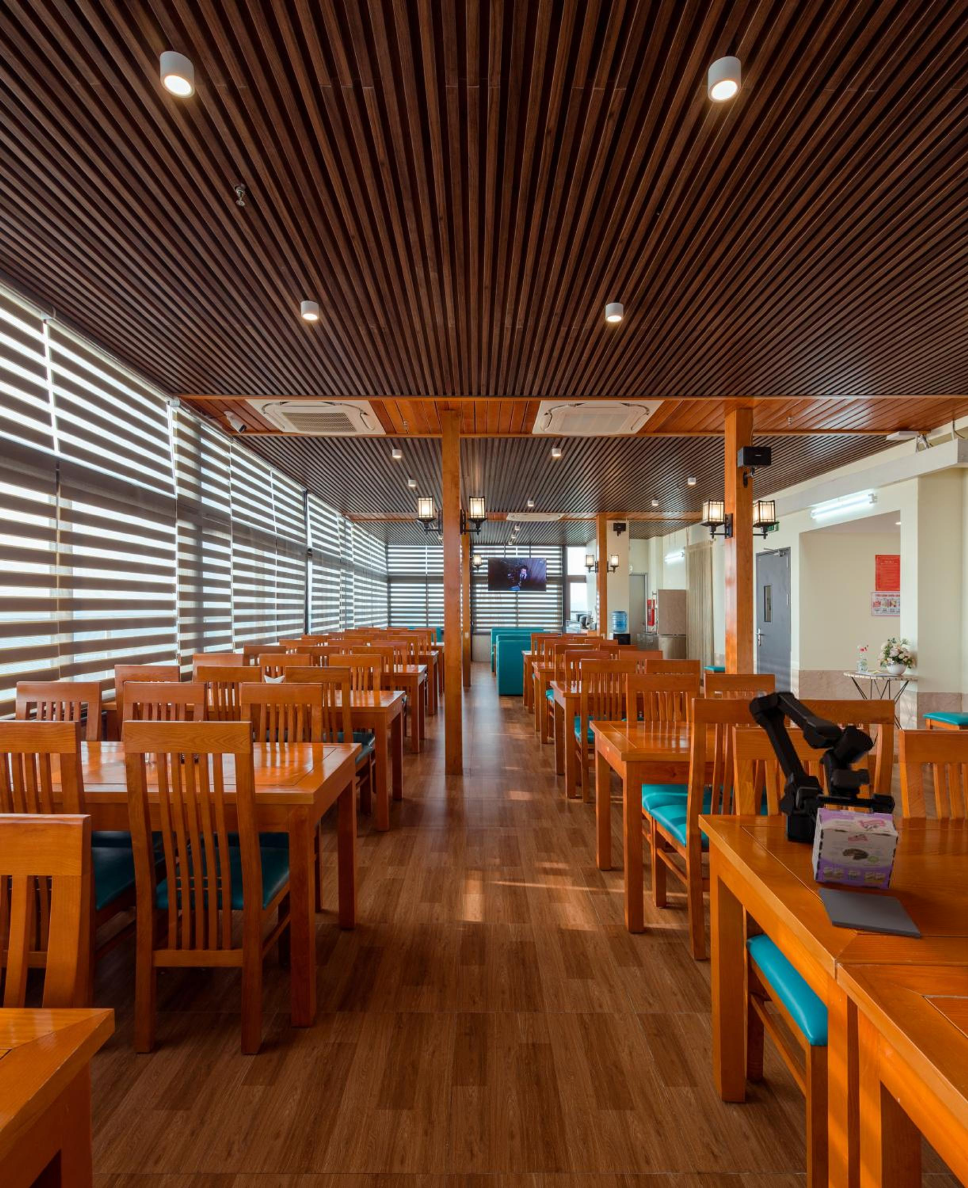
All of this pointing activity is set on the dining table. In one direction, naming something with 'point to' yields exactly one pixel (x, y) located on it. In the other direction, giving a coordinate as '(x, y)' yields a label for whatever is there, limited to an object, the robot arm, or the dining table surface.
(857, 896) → the mat
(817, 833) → the candy box
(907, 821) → the dining table surface
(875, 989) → the dining table surface
